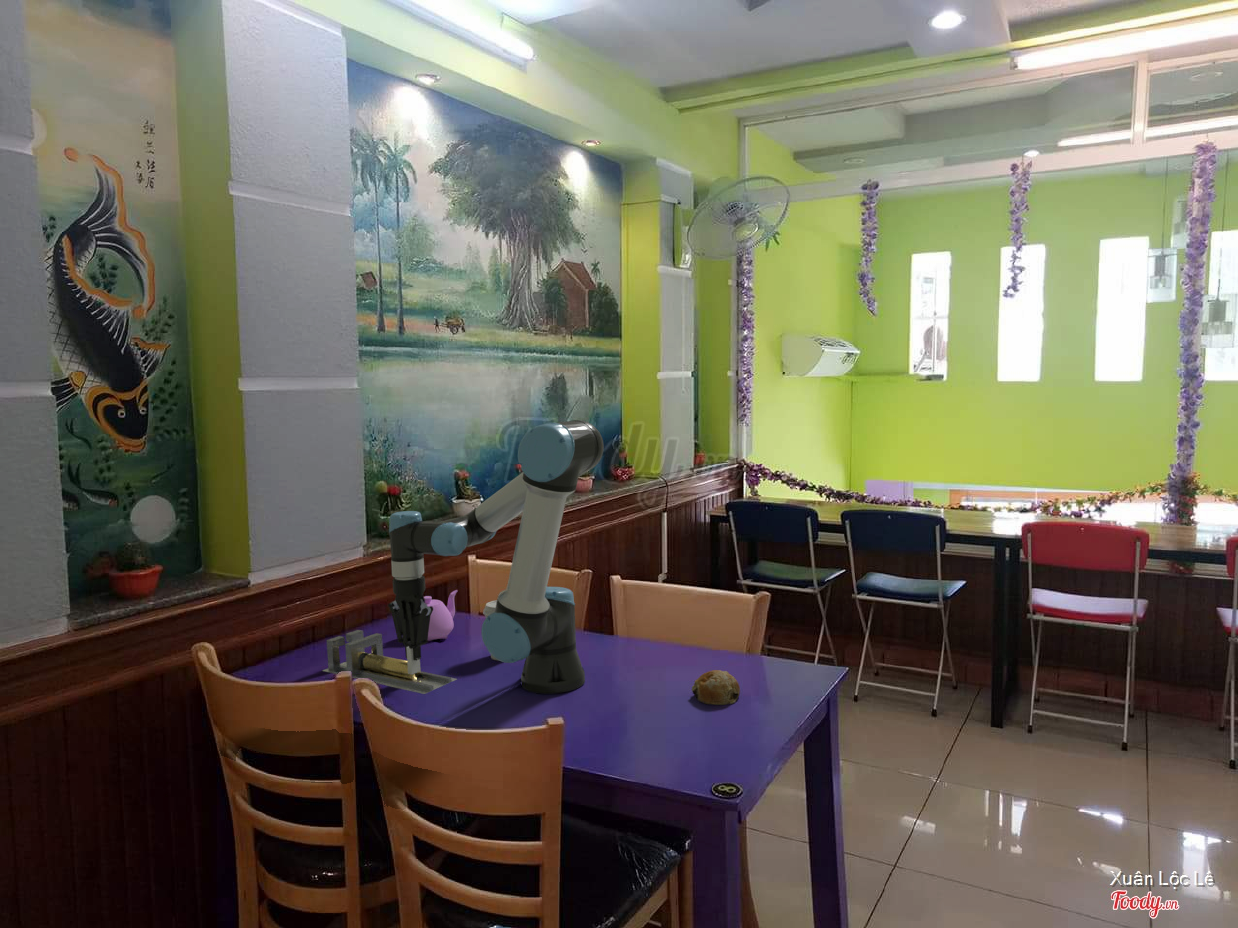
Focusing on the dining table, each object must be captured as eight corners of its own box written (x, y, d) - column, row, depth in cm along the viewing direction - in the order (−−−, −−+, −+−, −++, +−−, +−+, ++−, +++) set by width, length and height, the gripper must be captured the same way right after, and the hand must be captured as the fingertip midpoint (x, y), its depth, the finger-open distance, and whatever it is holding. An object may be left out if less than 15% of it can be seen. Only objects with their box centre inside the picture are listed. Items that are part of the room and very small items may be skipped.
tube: (418, 680, 210) (422, 663, 211) (406, 678, 206) (410, 661, 207) (362, 668, 220) (366, 652, 221) (350, 666, 217) (354, 650, 218)
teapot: (445, 625, 258) (443, 585, 257) (475, 633, 249) (472, 592, 247) (387, 642, 243) (384, 600, 242) (416, 651, 234) (413, 607, 233)
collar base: (457, 682, 208) (455, 646, 207) (424, 698, 198) (422, 660, 198) (356, 661, 227) (354, 628, 226) (322, 674, 218) (319, 639, 217)
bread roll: (719, 724, 186) (733, 694, 184) (681, 697, 191) (694, 668, 188) (738, 708, 195) (752, 679, 192) (701, 683, 199) (713, 654, 197)
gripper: (439, 575, 205) (445, 671, 207) (401, 570, 212) (406, 663, 214) (416, 582, 198) (422, 681, 201) (377, 577, 205) (383, 672, 208)
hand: (414, 672), depth 207 cm, fingers closed
